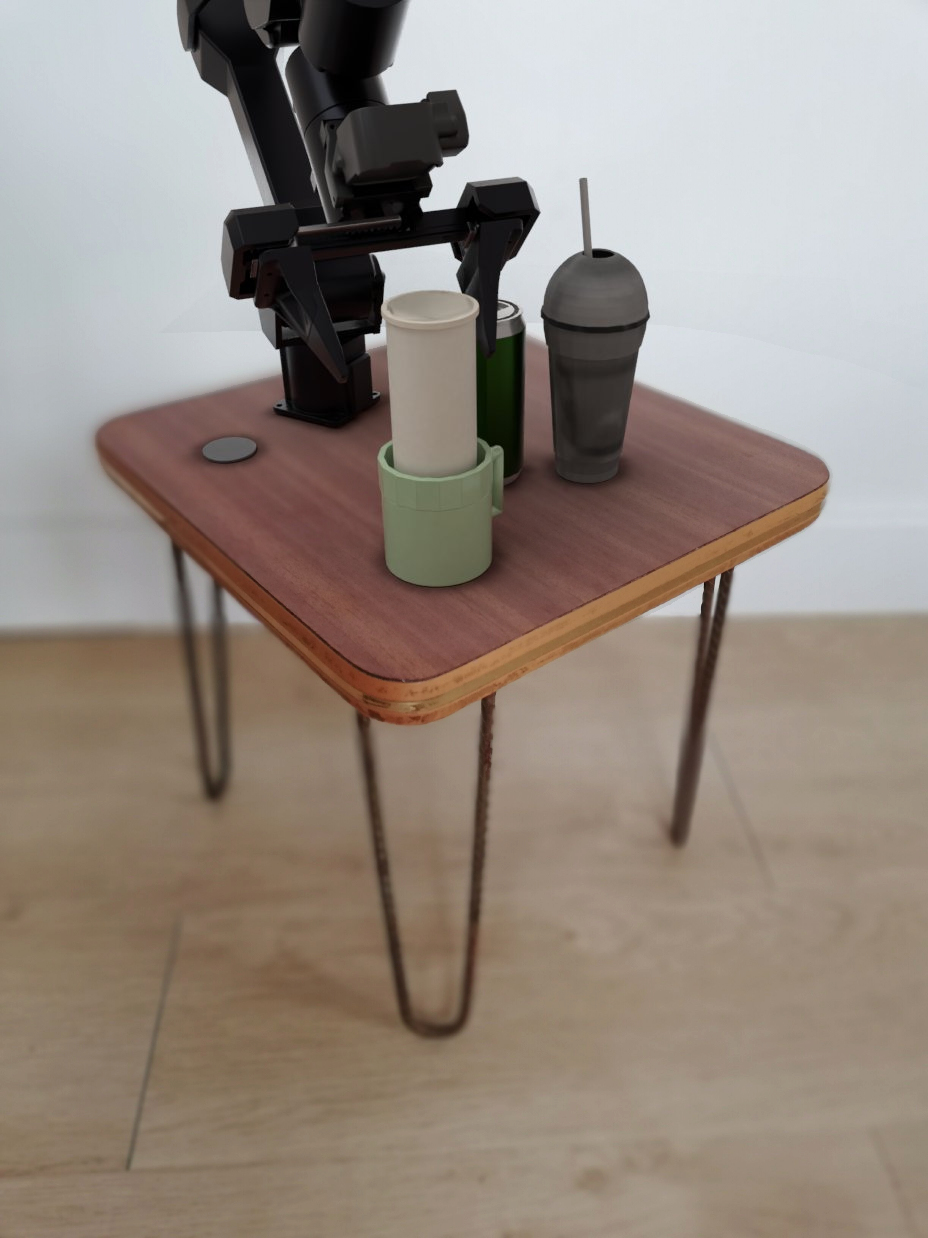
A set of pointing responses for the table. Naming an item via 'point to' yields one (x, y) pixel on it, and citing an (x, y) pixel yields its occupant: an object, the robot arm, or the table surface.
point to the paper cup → (432, 382)
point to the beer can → (504, 389)
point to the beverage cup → (592, 354)
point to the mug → (440, 519)
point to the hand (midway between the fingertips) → (419, 367)
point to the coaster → (229, 450)
